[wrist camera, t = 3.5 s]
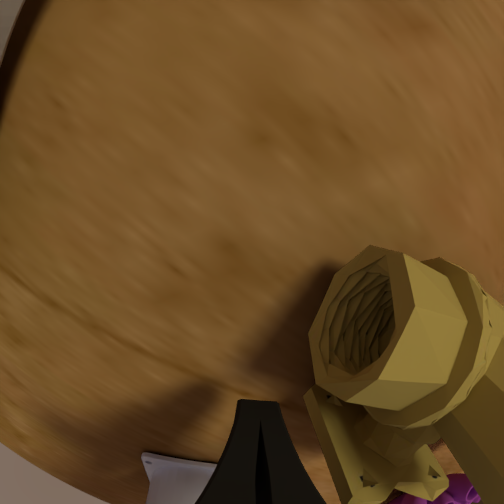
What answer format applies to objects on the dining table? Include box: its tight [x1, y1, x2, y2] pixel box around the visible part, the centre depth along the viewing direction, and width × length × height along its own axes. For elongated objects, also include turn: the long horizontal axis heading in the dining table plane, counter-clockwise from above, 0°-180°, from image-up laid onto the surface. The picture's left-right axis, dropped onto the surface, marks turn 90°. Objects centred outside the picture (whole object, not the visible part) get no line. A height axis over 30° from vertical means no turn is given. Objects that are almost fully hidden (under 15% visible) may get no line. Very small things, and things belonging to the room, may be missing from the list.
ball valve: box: [303, 245, 504, 504], centre depth 9 cm, size 13×10×10 cm
